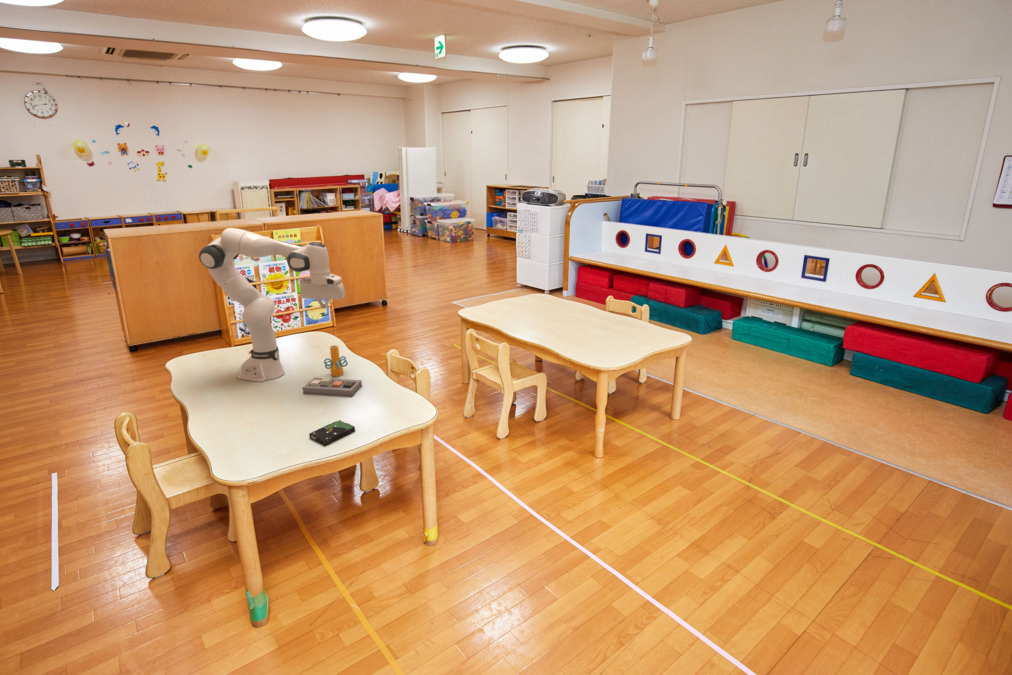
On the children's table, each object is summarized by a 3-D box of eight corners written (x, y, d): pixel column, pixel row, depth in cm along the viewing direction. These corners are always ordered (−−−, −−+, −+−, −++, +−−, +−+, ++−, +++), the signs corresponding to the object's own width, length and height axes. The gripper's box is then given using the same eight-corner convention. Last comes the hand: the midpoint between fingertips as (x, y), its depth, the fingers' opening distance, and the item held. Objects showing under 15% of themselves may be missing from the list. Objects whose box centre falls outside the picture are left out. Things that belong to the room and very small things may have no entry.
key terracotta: (332, 388, 261) (332, 384, 260) (336, 385, 265) (335, 381, 264) (340, 389, 261) (339, 384, 260) (343, 386, 264) (343, 381, 263)
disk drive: (325, 447, 216) (355, 432, 227) (324, 441, 215) (355, 426, 226) (309, 439, 221) (339, 424, 233) (308, 433, 220) (339, 418, 232)
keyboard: (303, 393, 260) (302, 387, 259) (315, 383, 271) (314, 377, 270) (352, 397, 256) (351, 390, 255) (362, 386, 268) (361, 380, 267)
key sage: (321, 385, 262) (320, 380, 261) (324, 382, 265) (324, 377, 264) (328, 385, 261) (328, 381, 260) (332, 382, 265) (331, 377, 264)
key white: (310, 387, 263) (310, 383, 262) (314, 384, 266) (313, 379, 265) (318, 388, 262) (317, 383, 261) (321, 384, 266) (321, 380, 265)
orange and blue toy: (352, 370, 286) (349, 343, 280) (345, 379, 276) (341, 350, 271) (329, 369, 287) (326, 342, 282) (321, 378, 277) (317, 350, 272)
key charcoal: (343, 389, 260) (343, 384, 260) (347, 386, 264) (346, 381, 263) (351, 390, 260) (350, 385, 259) (354, 386, 264) (354, 382, 263)
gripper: (295, 279, 249) (299, 309, 254) (339, 280, 246) (342, 310, 251) (302, 276, 255) (306, 305, 260) (344, 277, 252) (348, 306, 257)
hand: (324, 308), depth 255 cm, fingers closed
